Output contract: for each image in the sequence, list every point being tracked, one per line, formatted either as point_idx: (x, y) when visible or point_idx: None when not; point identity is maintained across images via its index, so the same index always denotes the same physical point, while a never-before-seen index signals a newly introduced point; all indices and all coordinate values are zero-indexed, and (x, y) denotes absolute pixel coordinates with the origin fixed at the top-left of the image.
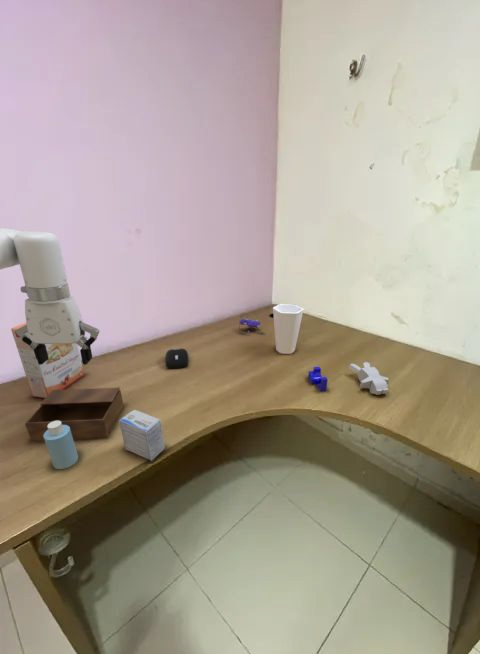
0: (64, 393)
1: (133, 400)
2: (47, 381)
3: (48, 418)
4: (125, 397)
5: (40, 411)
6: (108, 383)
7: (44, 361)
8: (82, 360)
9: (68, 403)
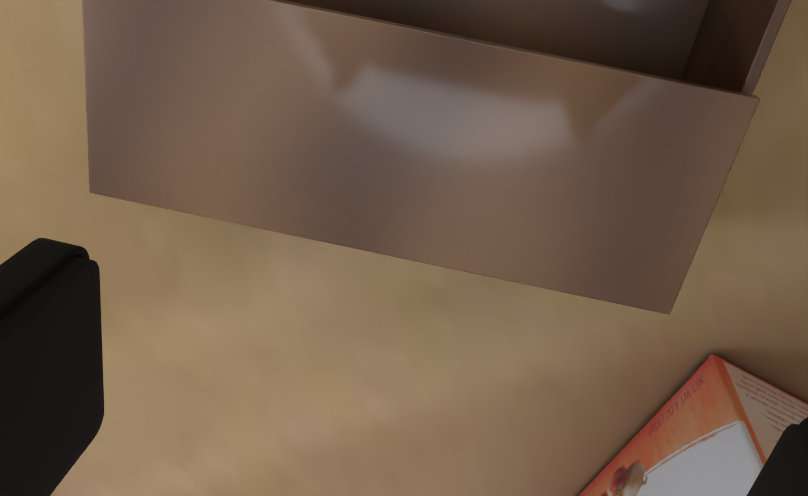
0: (557, 225)
1: None
2: (732, 466)
3: (685, 79)
4: (189, 233)
5: (747, 41)
6: (346, 426)
7: (762, 488)
8: (45, 294)
9: (492, 42)
